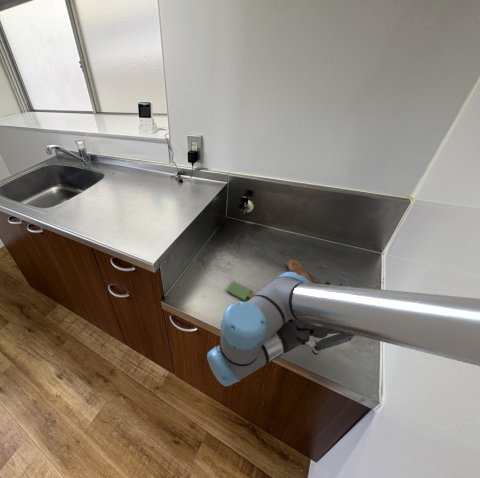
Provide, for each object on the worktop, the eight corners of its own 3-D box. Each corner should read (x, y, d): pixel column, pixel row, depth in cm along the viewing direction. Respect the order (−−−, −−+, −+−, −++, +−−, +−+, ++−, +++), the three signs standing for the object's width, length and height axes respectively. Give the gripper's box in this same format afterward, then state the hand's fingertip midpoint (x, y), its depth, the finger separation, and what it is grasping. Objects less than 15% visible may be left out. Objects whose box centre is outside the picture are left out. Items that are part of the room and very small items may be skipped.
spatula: (281, 306, 85) (282, 304, 84) (275, 317, 82) (276, 315, 81) (233, 282, 95) (233, 280, 94) (226, 291, 92) (226, 289, 91)
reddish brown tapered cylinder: (302, 305, 84) (306, 295, 81) (283, 264, 99) (286, 254, 95) (321, 304, 84) (326, 294, 80) (299, 264, 98) (303, 253, 95)
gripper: (240, 312, 66) (304, 279, 72) (306, 390, 51) (382, 341, 57) (243, 294, 61) (311, 261, 67) (317, 375, 46) (398, 323, 52)
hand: (343, 298), depth 62 cm, fingers closed on kendama, 8 cm apart
